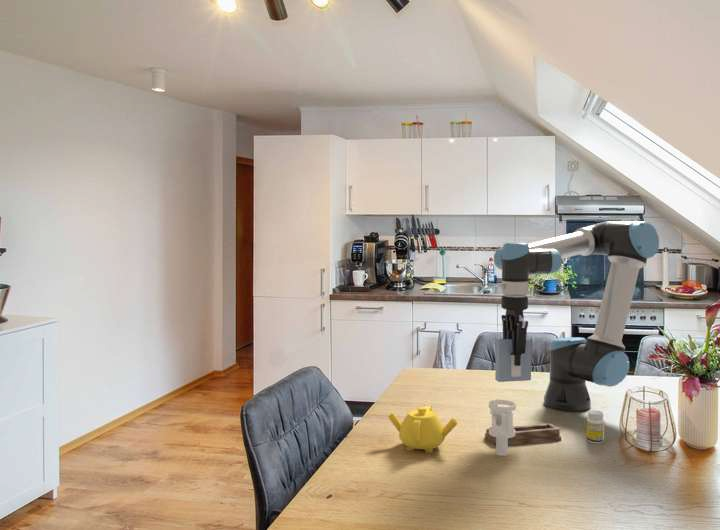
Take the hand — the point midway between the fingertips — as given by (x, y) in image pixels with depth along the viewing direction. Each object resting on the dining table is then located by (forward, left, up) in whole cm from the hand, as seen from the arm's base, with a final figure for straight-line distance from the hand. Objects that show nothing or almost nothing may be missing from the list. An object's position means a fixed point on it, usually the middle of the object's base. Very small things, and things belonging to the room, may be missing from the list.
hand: (513, 374), depth 182 cm
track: (-1, +4, -18) cm, 18 cm away
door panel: (0, 0, -2) cm, 2 cm away
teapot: (+29, +3, -18) cm, 35 cm away
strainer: (+10, +13, -18) cm, 25 cm away
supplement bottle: (-20, +11, -18) cm, 29 cm away
